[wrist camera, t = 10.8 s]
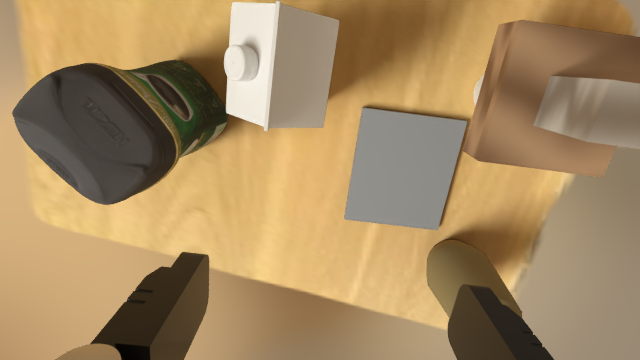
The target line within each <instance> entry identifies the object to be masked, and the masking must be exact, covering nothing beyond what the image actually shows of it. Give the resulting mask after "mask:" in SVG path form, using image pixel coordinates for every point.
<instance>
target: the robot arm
mask: <svg viewBox="0 0 640 360" xmlns="http://www.w3.org/2000/svg"><path fill="white" fill-rule="evenodd" d="M208 295H209V256H208V255H205V254H196V253H187V252H182V253H181V254H180V256H179V257H178V258H177V260H176V261H175V262H174V264H173V265H172V267H171V268H169V267H160V268H159V269H157V270H155V271H154V272H152V273H151V274H149V275H147V276H146V277H145V278H144V279H143V280H142V282H141V283H140V284H139V285H138V287H137V288H136V290H135V291H133V293H132V294H131V295H130V296H129V297H128V299H127V302H125V303H124V304H123V305H122V306H121V307H120V308H119V310H118V311H117V312H116V314H115V315H114V316H113V317H112V318H111V319H110V321H109V322H108V323H107V324H106V325H105V327H104V328H103V329H102V330H101V332H100V333H99V334H98V335H97V337H96V338H95V339H94V340H93V341H92V342H91V344H90V345H85V346H81V347H78V348H75V349H73V350H71V351H69V352H67V353H65V354H63V355H62V356H60V357H58V358H57V359H56V360H184V358H185V356H186V354H187V352H188V350H189V347H190V345H191V343H192V341H193V339H194V336H195V334H196V332H197V330H198V328H199V326H200V324H201V322H202V320H203V317H204V315H205V312H206V308H207V304H208ZM448 338H449V342H450V344H451V347H452V349H453V351H454V353H455V356H456V358H457V360H554V359H553V358H552V356H551V355H550V354H549V352H548V351H547V350H546V349H545V348H544V347H542V343H541V342H540V341H539V340H538V338H537V337H536V336H535V335H533V332H532V331H531V329H530V328H529V327H528V325H527V324H526V323H525V322H524V320H523V319H522V318H521V317H520V316H519V315H517V314H516V313H515V312H514V311H512V310H511V309H510V308H509V307H508V306H506V305H503V304H502V303H501V302H500V300H499V299H498V298H497V296H496V295H495V294H494V292H493V291H492V290H491V289H490V288H489V287H486V286H477V285H468V284H463V285H461V287H460V288H459V291H458V294H457V297H456V300H455V303H454V307H453V310H452V313H451V316H450V319H449V323H448Z"/></svg>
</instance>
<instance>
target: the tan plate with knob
mask: <svg viewBox="0 0 640 360" xmlns="http://www.w3.org/2000/svg"><path fill="white" fill-rule="evenodd" d="M616 146H621V147H629V148H636V149H640V37H634V36H628V35H621V34H614V33H607V32H601V31H594V30H587V29H580V28H573V27H567V26H560V25H553V24H546V23H540V22H533V21H526V20H519V21H514V22H509V23H504V24H500V25H499V26H498V29H497V33H496V36H495V40H494V43H493V47H492V50H491V54H490V57H489V61H488V64H487V68H486V71H485V75H484V78H483V82H482V86H481V89H480V93H479V96H478V100H477V103H476V107H475V110H474V114H473V117H472V121H471V124H470V128H469V131H468V135H467V138H466V142H465V145H464V149H463V151H464V152H466V153H467V154H469V155H470V156H472V157H473V158H475V159H476V160H478V161H482V162H490V163H498V164H505V165H513V166H520V167H528V168H536V169H543V170H551V171H559V172H566V173H574V174H582V175H589V176H597V177H603V176H604V174H605V171H606V169H607V166H608V165H609V162H610V160H611V157H612V155H613V153H614V151H615V149H616Z"/></svg>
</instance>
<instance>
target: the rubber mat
mask: <svg viewBox="0 0 640 360" xmlns="http://www.w3.org/2000/svg"><path fill="white" fill-rule="evenodd" d="M466 125H467V121H465V120H459V119H451V118H443V117H436V116H428V115H420V114H412V113H405V112H397V111H389V110H381V109H374V108H366V107H362V113H361V119H360V125H359V131H358V137H357V143H356V149H355V155H354V161H353V168H352V174H351V180H350V186H349V192H348V198H347V204H346V210H345V216H344V218H345V219H346V220H354V221H363V222H371V223H380V224H388V225H397V226H406V227H414V228H423V229H431V230H438V227H439V224H440V220H441V216H442V213H443V209H444V205H445V202H446V198H447V195H448V191H449V187H450V184H451V180H452V176H453V173H454V169H455V165H456V162H457V158H458V154H459V151H460V147H461V143H462V140H463V136H464V132H465V129H466Z"/></svg>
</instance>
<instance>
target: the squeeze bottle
mask: <svg viewBox="0 0 640 360" xmlns="http://www.w3.org/2000/svg"><path fill="white" fill-rule="evenodd" d="M427 282H428V286H429V287H430V289H431V291H432V292H433V294H434V295H435V297H436V298H437V300H438V301H439V303H440V304H441V306H442V307H443V309H444V310H445V312H446V313H447V315H448V316H449V318H450V316H451V313H452V310H453V307H454V303H455V300H456V297H457V294H458V291H459V288H460V287H461V285H463V284H468V285H477V286H486V287H489V288H490V289H491V290H492V291H493V292H494V294H495V295H496V296H497V298H498V299H499V300H500V302H501V303H502V304H503V305H506V306H508V307H509V308H510V309H511V310H512V311H514V312H515V313H516V314H517V315H519V316H520V317H521V318H522V311H521V310H520V308H519V306H518V305H517V303H516V302H515V300H514V298H513V297H512V295H511V294H510V292H509V290H508V289H507V287H506V286H505V284H504V282H503V281H502V279H501V278H500V276H499V274H498V273H497V271H496V270H495V268H494V266H493V265H492V263H491V262H490V260H489V259H488V257H487V255H486V254H485V253H483V252H482V251H480V250H478V249H477V248H475V247H473V246H471V245H468V244H466V243H464V242H462V241H458V240H446V241H442V242H441V243H439V244H437V245H435V246H434V247H433V249H432V250H431V251H430V252H429V255H428V258H427Z"/></svg>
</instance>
